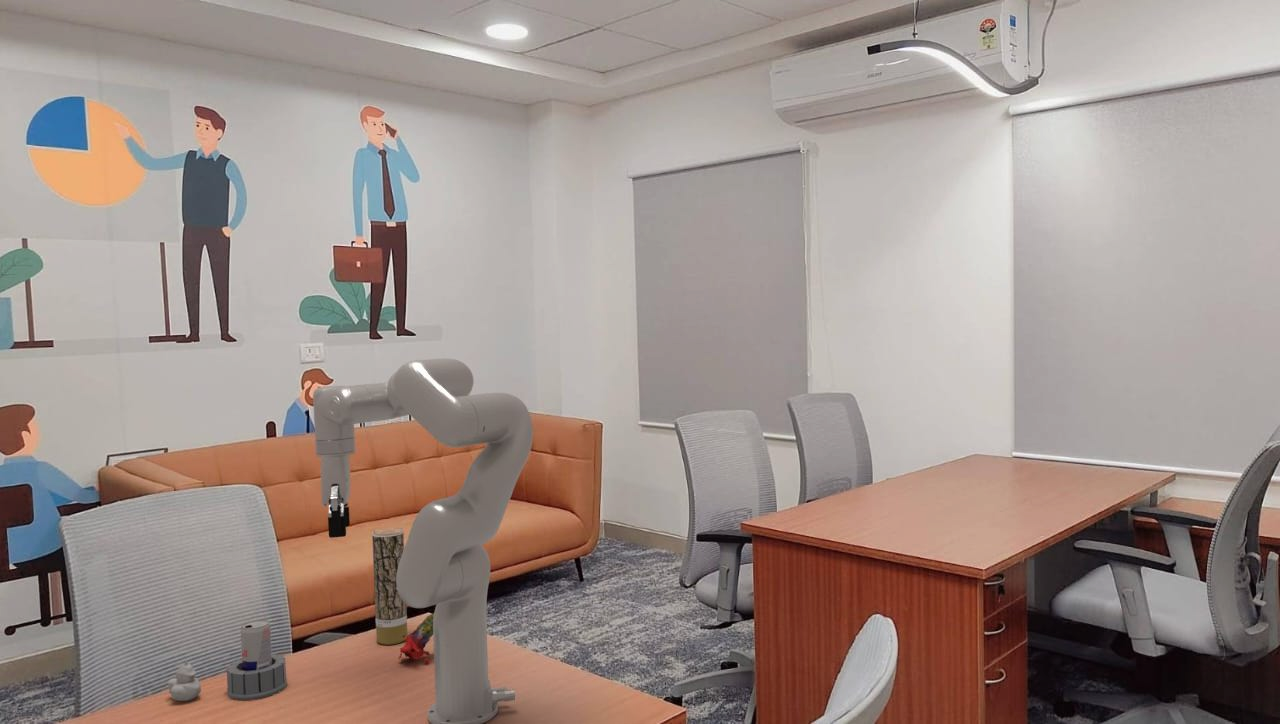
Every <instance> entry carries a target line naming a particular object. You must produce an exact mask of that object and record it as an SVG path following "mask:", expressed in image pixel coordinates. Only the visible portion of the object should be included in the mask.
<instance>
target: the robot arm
mask: <svg viewBox="0 0 1280 724" xmlns="http://www.w3.org/2000/svg"><path fill="white" fill-rule="evenodd" d="M473 386H474V376H473V372H472V371H471V369H470V368H469V367H468V365H466V363H464V362H462V361H460V360H458V359H455V358H433V359H432V358H431V359H419V360H417V359H416V360H411V361H408V362H406V363H404V364H402V366H400V367H399V368H398V370H397V371H396V372H394V373H393V374H392V375H391V376H390V377H389V379H388V381H386V382H382V383H381V382H379V383H368V384H367V383H365V384H356V385H329V386H320V387H319V386H318V387H317V388H315V389H314V391H313V395H312V400H313V422H314V424H313V425H314V443H315V444H314V446H315V456H316V457H317V458H318V457H319V458H321V460H320V483H321V484H320V486H321V487H320V489H321V506H322V507H326V506H327V505H328V516H327V525H328V538H331V539H333V538H343V537H346V536H347V527H349V526H350V524H351V523H350V507H349V500H350V496H351V465H350V464H351V462H350V460H351V459H350V455H354V454H356V439H355V438H356V437H355V425H357V424H363V423H371V422H379V421H381V422H382V421H388V420H393V419H396V418H401V417H405V416H411V418H413V419H414V420H415V421H416V422H417V424H419V425H420V426H421V427H422V428H423V429H425V430H426V432H427V433H429V434H430V435H431V436H432V437H433V438H434V439H435V440H436V441H438V442H439V443H441V444H442V445H444V446H446V447H451V448H465V447H471V446H475V445H480V444H486V445H485V447H484V448H483V449H482V450H481V452H480V453H478V455H477V456H476V457H475V459H474V460H473V461H472V463H471V465H470V466H469V469H468V471H467V474H466V477H465V479H464V482H463V484H462V486H461V488H460V489H459V491H458V492H457V493H455V494H454V495H451V496H448V497H443V498H440V499H437V500H436V499H435V500H433V501H431V502H429V503H427V504H426V505H424V507H422V508H421V509H420V511H419V512H417V514H416V516H415V518H414V520H413V522H412V525H411V528H410V531H409V534H408V537H407V540H406V543H405V544H404V550H403V553H402V556H401V559H400V562H399V565H398V569H397V576H396V585H397V590H398V593H399V596H400V597H401V599H402V600H403V602H404V603H406V606H409V607H410V608H413V609H414V608H415V609H424V608H428V607H431V606H435V607H434V608H435V609H434V612H433V613H434V618H433V635H432V636H433V661H434V663H433V664H434V666H433V667H434V686H435V687H434V688H435V689H434V690H435V693H434V694H435V702H434V703H432V704H431V705H430V707H428V708H427V719H428V722H429V723H431V724H484V723H487V722H488V721H490V720H492V719H493V718H494V717H495V716H496V715H497V713H498V711H499V703H500V702H511V701H512V702H513V701H515V699H516V694H515V689H513V688H512V689H507V688H508V687H507V686H506V685H505V686H499V687H494V686H491V681H490V679H489V657H488V656H489V655H488V624H487V605H488V604H487V602H488V601H487V599H488V598H487V597H488V589H489V585H490V577H491V559H490V556H489V553H488V551H487V550H486V548H485V547H484V546H483V545H484V544H486V543H488V542H490V541H491V540H492V539H494V538H495V536H496V535H497V533H498V531H499V529H500V526H501V523H502V521H503V518H504V515H505V513H506V510H507V508H508V505H509V503H510V500H511V498H512V496H513V495H512V494H513V492H514V490H515V487H516V484H517V482H518V479H519V477H520V475H521V473H522V471H523V468H524V467H525V464H526V462H527V460H528V458H529V455H530V454H531V453H530V452H531V450H532V447H533V446H532V445H533V438H534V426H533V420H532V416H531V413H530V411H529V409H528V408H527V406H526V404H525V403H524V402H523V400H521V399H520V398H518V397H517V396H515V395H513V394H510V393H507V392H506V393H505V392H486V393H479V394H471V392H472V389H473ZM470 394H471V395H470Z"/></svg>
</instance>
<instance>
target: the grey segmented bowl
mask: <svg viewBox="0 0 1280 724" xmlns="http://www.w3.org/2000/svg"><path fill="white" fill-rule="evenodd" d="M286 667H287V665H286V658H285V657H284V656H283V655H281V654H273V653H272V665H271V666H269V667H267V668H263V669H260V670H253V671H243V670H242V658H240V659H238V660H236V661H234V662H232V663H230V664H229V665H228V666H227V668H226V685H227V689H226V690H227V691H226V693H227V698H229V697H230V698H229V699H231V698H232V699H231V700H234V699H237V700H236V701H252V700H251V699H255V700H259V699H258V698H261V699H264V698H263V697H265V698H268V697H271V696H273V694H274V695H276V694H278V693H280V692H282V691H283V690H285V689H286V687H287V686H286V685H288V681H287V668H286ZM281 690H282V691H281ZM279 691H280V692H279ZM275 693H276V694H275ZM270 695H271V696H270ZM267 696H268V697H267Z"/></svg>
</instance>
